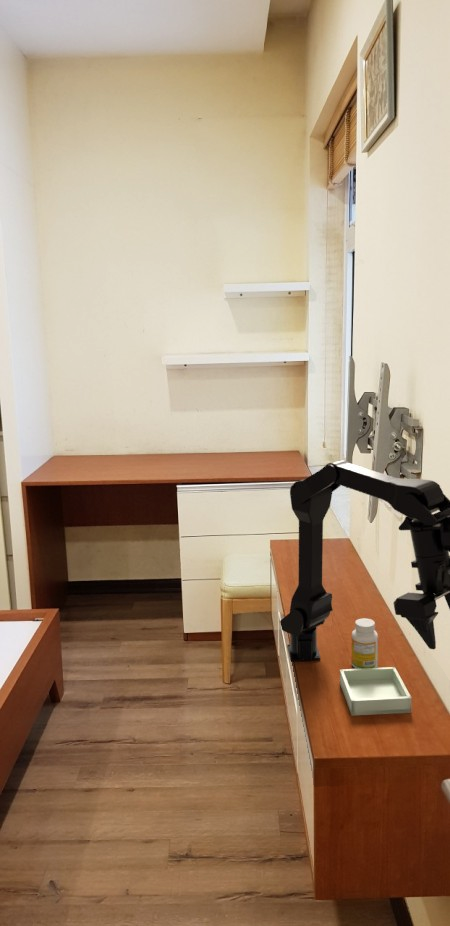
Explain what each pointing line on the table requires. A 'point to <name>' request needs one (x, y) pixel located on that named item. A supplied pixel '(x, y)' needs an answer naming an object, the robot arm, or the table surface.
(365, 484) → the robot arm
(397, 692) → the tray
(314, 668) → the table surface
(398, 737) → the table surface
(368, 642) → the supplement bottle
